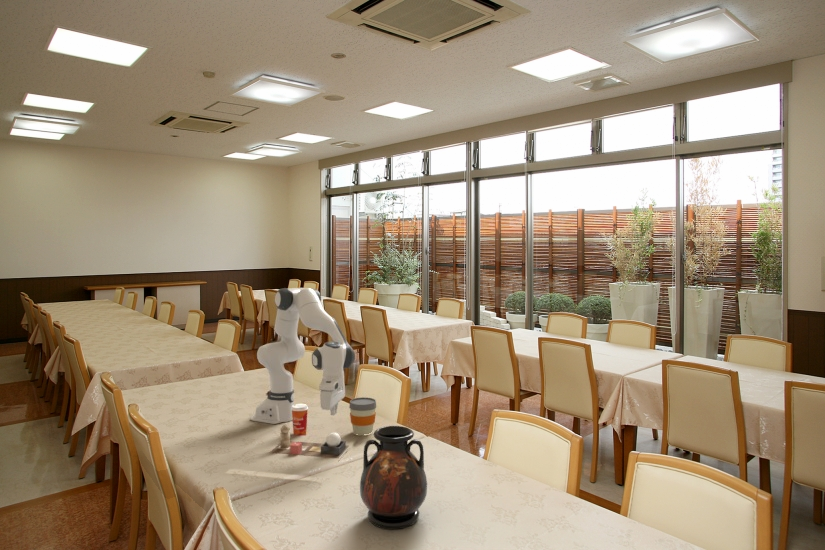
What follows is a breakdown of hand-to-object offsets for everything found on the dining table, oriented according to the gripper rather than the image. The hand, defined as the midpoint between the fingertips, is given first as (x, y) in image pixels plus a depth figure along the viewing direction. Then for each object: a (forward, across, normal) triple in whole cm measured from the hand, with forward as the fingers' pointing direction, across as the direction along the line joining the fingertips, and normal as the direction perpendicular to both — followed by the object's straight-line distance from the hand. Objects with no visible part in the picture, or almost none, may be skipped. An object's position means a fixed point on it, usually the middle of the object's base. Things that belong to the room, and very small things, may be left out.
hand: (333, 414), depth 222 cm
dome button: (+14, 0, 0) cm, 14 cm away
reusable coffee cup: (+17, -28, +4) cm, 33 cm away
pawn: (+15, 0, -22) cm, 27 cm away
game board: (+17, 0, -11) cm, 20 cm away
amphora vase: (+18, +46, +36) cm, 61 cm away
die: (+15, +5, -15) cm, 22 cm away
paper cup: (+17, -18, -23) cm, 34 cm away
